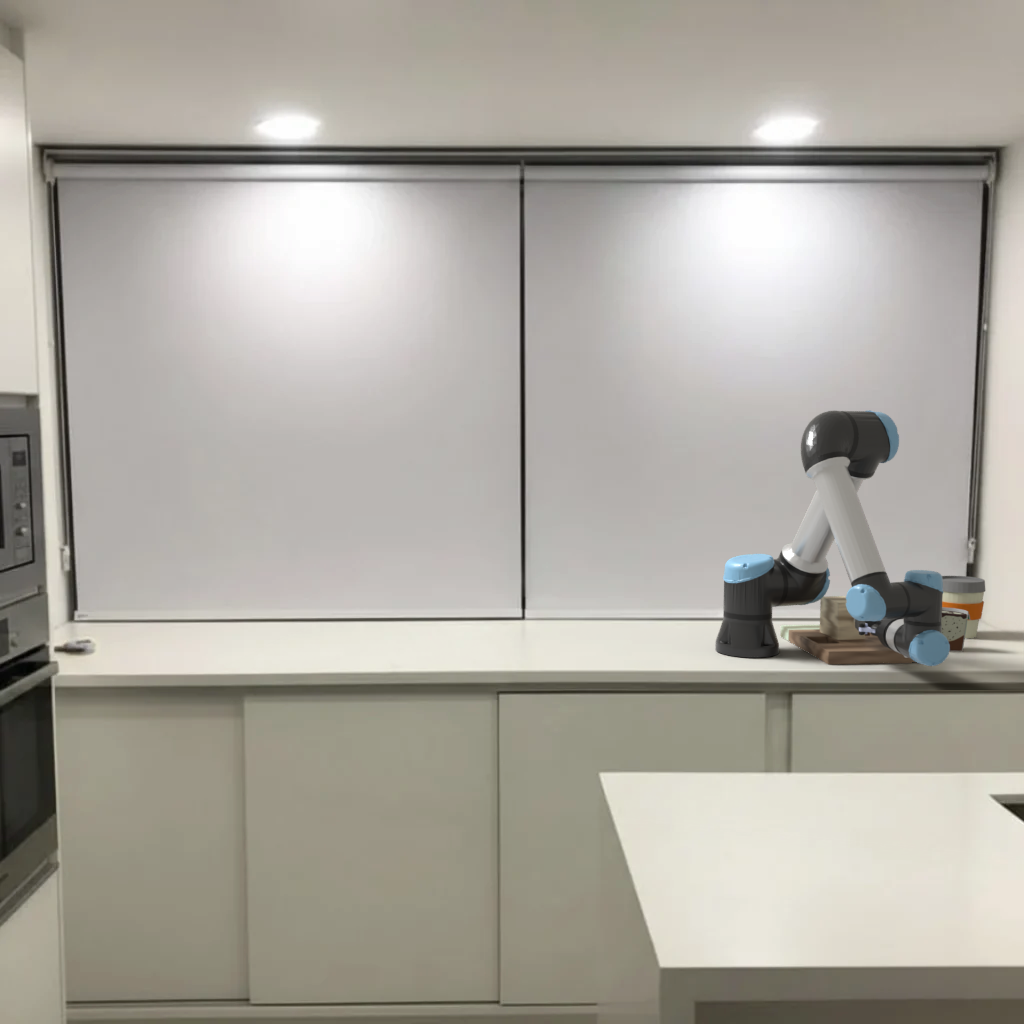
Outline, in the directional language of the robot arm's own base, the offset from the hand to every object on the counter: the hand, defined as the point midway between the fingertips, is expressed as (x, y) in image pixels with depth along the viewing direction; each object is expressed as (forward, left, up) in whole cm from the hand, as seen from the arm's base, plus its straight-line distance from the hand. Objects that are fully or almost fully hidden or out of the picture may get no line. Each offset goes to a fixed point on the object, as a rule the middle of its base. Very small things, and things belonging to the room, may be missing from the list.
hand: (856, 615), depth 256 cm
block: (-3, +4, -6) cm, 8 cm away
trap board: (-2, +3, -9) cm, 9 cm away
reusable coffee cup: (+27, +28, -9) cm, 40 cm away
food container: (+20, +9, -9) cm, 24 cm away
